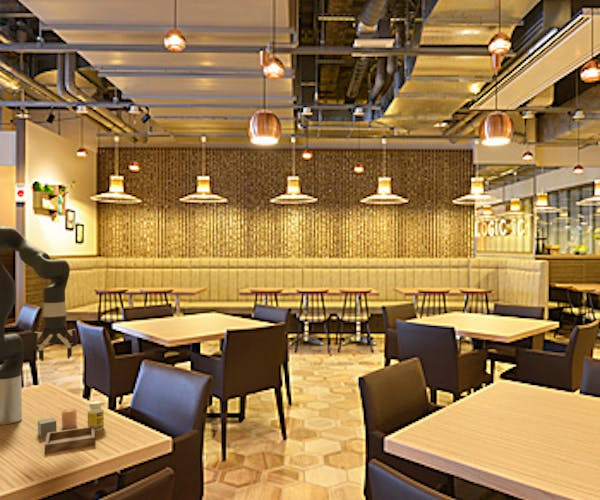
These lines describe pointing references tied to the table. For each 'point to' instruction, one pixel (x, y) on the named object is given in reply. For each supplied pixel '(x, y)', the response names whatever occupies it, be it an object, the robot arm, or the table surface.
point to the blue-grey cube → (46, 426)
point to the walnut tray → (70, 439)
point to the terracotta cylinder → (69, 418)
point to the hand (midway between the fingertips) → (55, 359)
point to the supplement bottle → (96, 415)
